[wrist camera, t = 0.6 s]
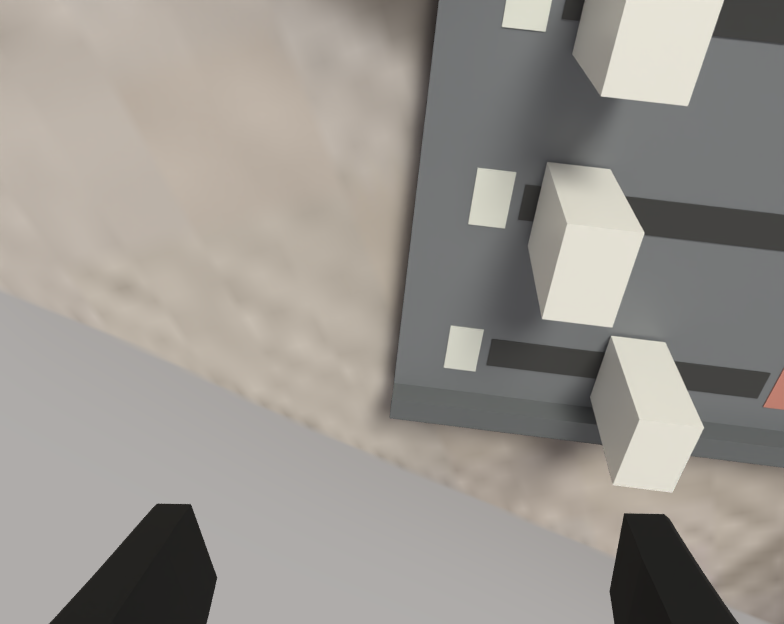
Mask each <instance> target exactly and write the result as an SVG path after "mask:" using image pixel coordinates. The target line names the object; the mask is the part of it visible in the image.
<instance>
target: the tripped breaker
mask: <svg viewBox="0 0 784 624" xmlns="http://www.w3.org/2000/svg"><path fill="white" fill-rule="evenodd" d="M590 399H591V403H592V407H593V411H594V414H595V418H596V422H597V426H598V430H599V434H600V438H601V442H602V445H603V449H604V453H605V457H606V461H607V465H608V469H609V473H610V476H611V480H612V484H613V485H616V486H624V487H632V488H640V489H648V490H656V491H663V492H671V493H672V492H673V490H674V488H675V486H676V484H677V482H678V480H679V478H680V476H681V474H682V472H683V470H684V468H685V466H686V464H687V462H688V459H689V457H690V455H691V453H692V451H693V449H694V447H695V445H696V443H697V441H698V439H699V437H700V435H701V433H702V431H703V429H704V426H703V424H702V422H701V420H700V417H699V415H698V413H697V411H696V409H695V406H694V404H693V402H692V400H691V398H690V395H689V393H688V391H687V389H686V387H685V384H684V382H683V380H682V378H681V376H680V373H679V371H678V369H677V367H676V365H675V362H674V360H673V358H672V356H671V354H670V351H669V349H668V347H667V345H666V343H665V342H659V341H650V340H642V339H634V338H626V337H617V336H611V337H610V340H609V343H608V346H607V349H606V352H605V355H604V358H603V361H602V364H601V367H600V369H599V372H598V375H597V378H596V381H595V384H594V387H593V390H592V393H591V396H590Z"/></svg>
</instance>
